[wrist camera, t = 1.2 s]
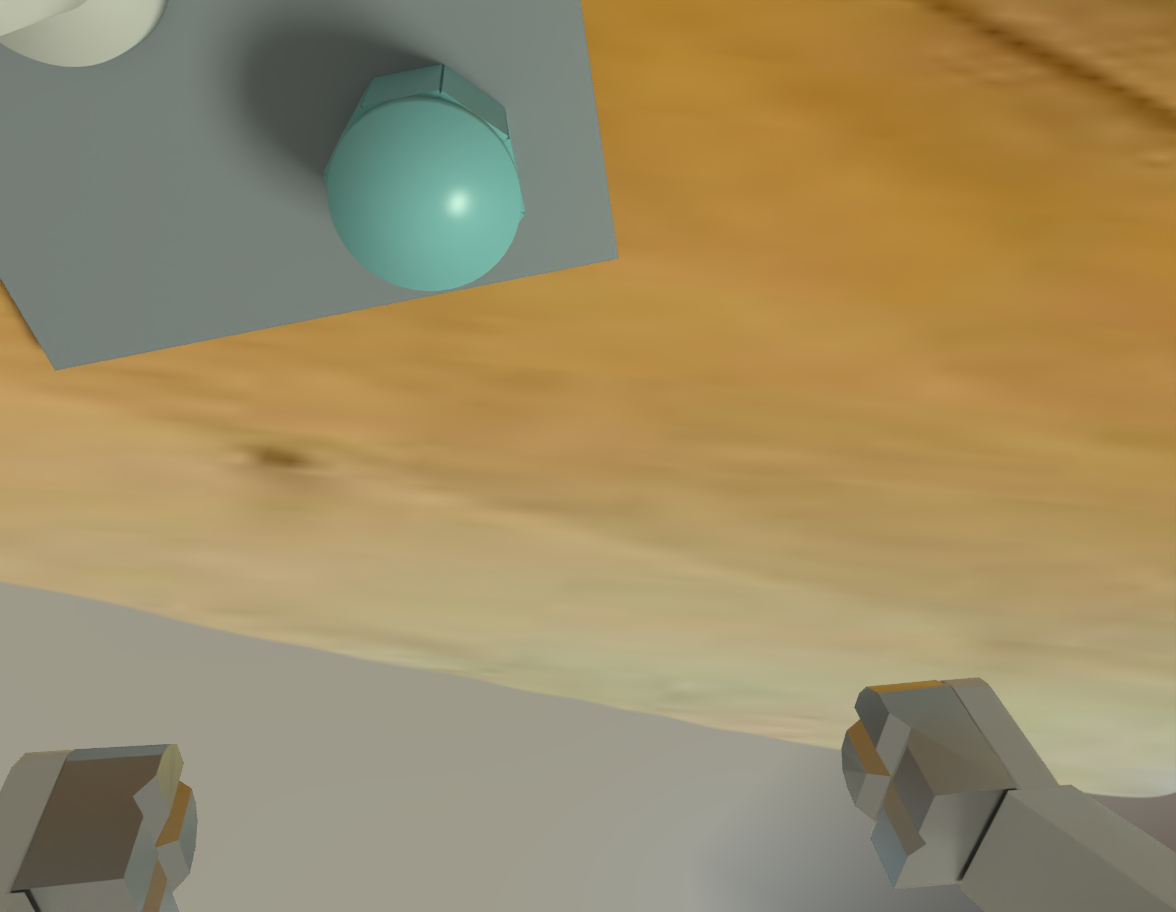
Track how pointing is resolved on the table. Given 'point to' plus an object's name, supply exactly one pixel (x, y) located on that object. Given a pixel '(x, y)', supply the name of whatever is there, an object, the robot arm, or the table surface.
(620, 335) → the table surface
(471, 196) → the cap
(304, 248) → the post board
